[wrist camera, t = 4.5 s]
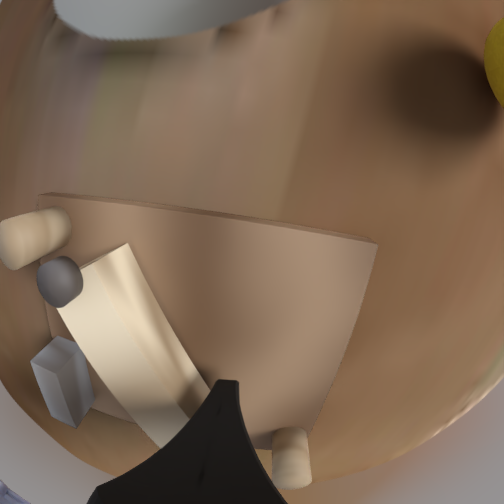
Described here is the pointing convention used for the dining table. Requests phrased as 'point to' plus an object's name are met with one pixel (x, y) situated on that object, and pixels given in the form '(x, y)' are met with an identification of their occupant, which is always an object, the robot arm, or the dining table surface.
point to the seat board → (211, 307)
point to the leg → (126, 339)
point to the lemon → (495, 60)
